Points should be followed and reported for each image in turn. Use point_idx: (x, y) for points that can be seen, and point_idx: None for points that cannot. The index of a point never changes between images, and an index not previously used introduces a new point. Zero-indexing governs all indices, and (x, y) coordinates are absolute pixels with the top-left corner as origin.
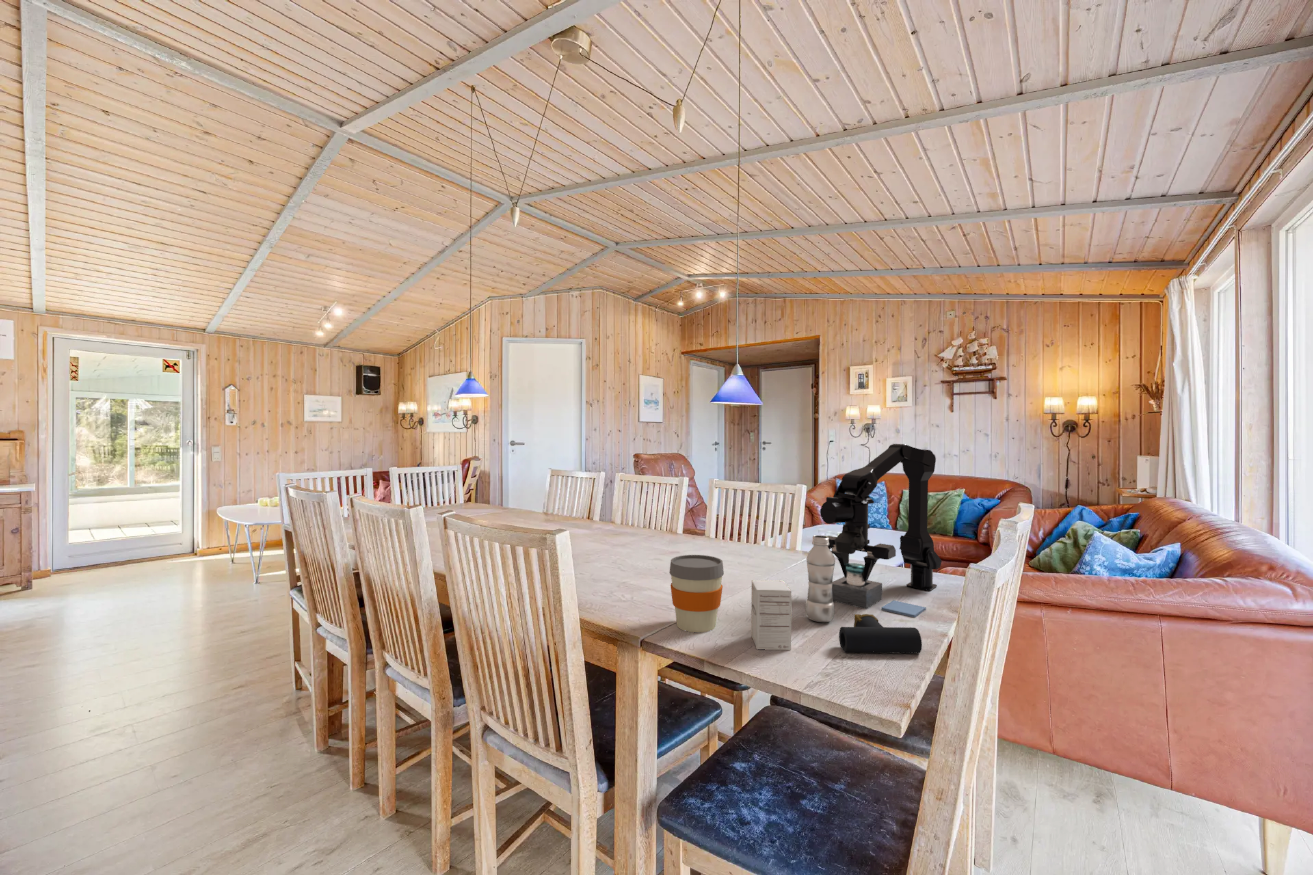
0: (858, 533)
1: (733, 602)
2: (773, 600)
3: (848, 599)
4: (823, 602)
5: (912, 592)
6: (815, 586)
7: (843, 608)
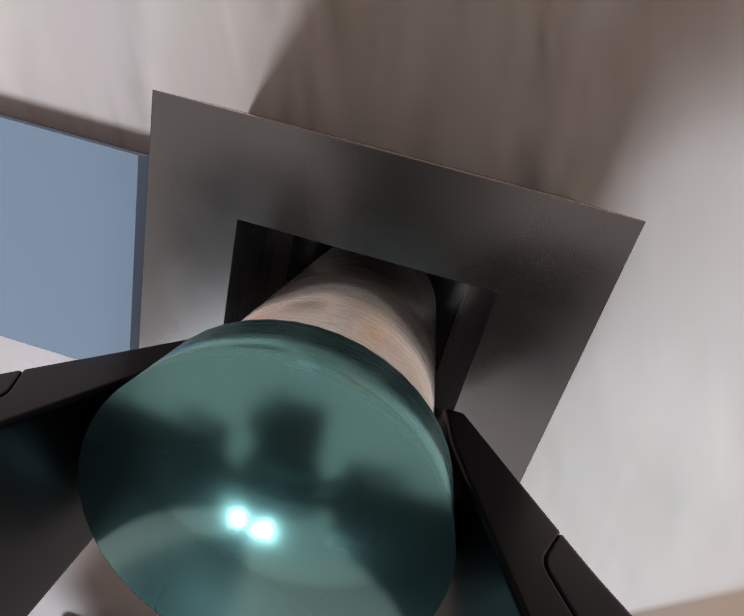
0: None
1: None
2: None
3: (393, 152)
4: None
5: (118, 582)
6: None
7: (420, 3)
